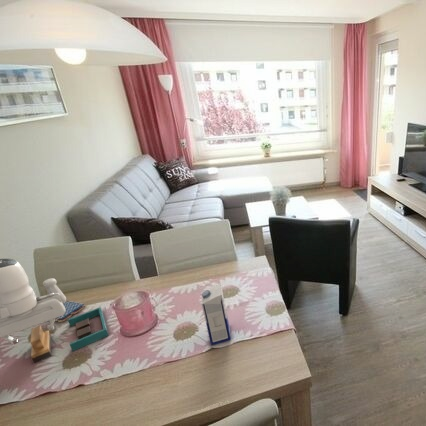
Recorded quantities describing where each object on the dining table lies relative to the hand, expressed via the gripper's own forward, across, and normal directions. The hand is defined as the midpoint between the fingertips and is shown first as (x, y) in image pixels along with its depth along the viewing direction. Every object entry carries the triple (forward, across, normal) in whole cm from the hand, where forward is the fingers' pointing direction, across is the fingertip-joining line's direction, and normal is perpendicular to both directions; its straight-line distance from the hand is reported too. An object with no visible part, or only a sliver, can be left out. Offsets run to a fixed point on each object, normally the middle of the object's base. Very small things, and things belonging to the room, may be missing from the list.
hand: (34, 336), depth 103 cm
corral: (+6, -14, 0) cm, 15 cm away
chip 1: (+6, -13, -2) cm, 15 cm away
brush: (+6, -1, 0) cm, 6 cm away
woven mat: (+7, -8, -20) cm, 22 cm away
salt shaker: (+7, -6, -29) cm, 30 cm away
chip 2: (+6, -13, +3) cm, 15 cm away
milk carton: (+5, -51, +39) cm, 64 cm away
